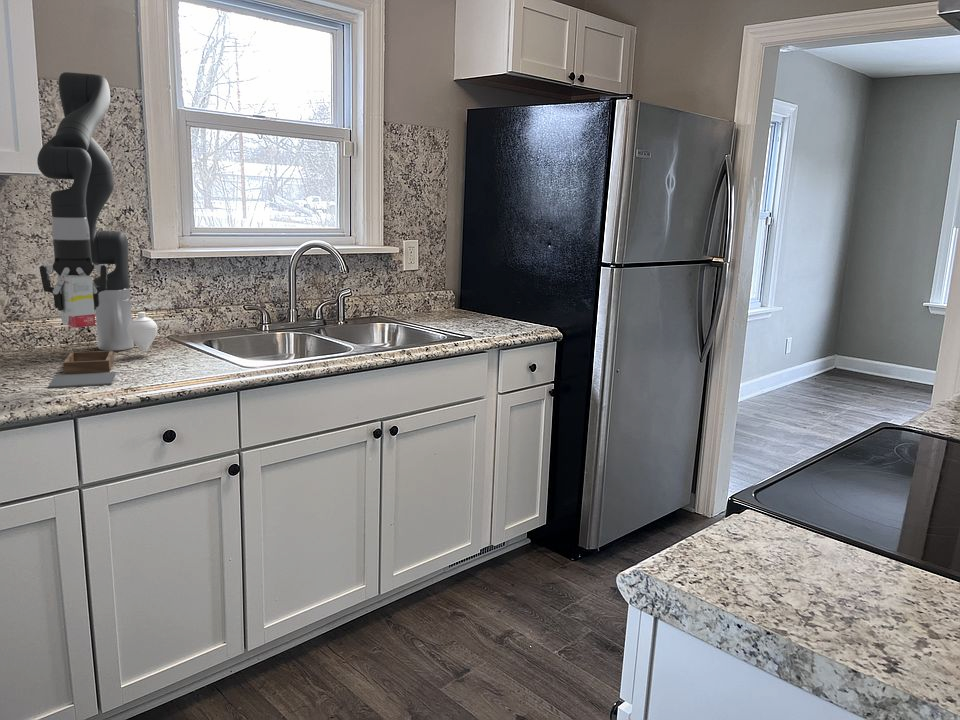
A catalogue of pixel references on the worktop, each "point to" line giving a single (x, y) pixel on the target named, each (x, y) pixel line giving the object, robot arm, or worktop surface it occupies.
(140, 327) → the spinning top
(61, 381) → the rubber mat
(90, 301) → the ink box
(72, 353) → the holder box
